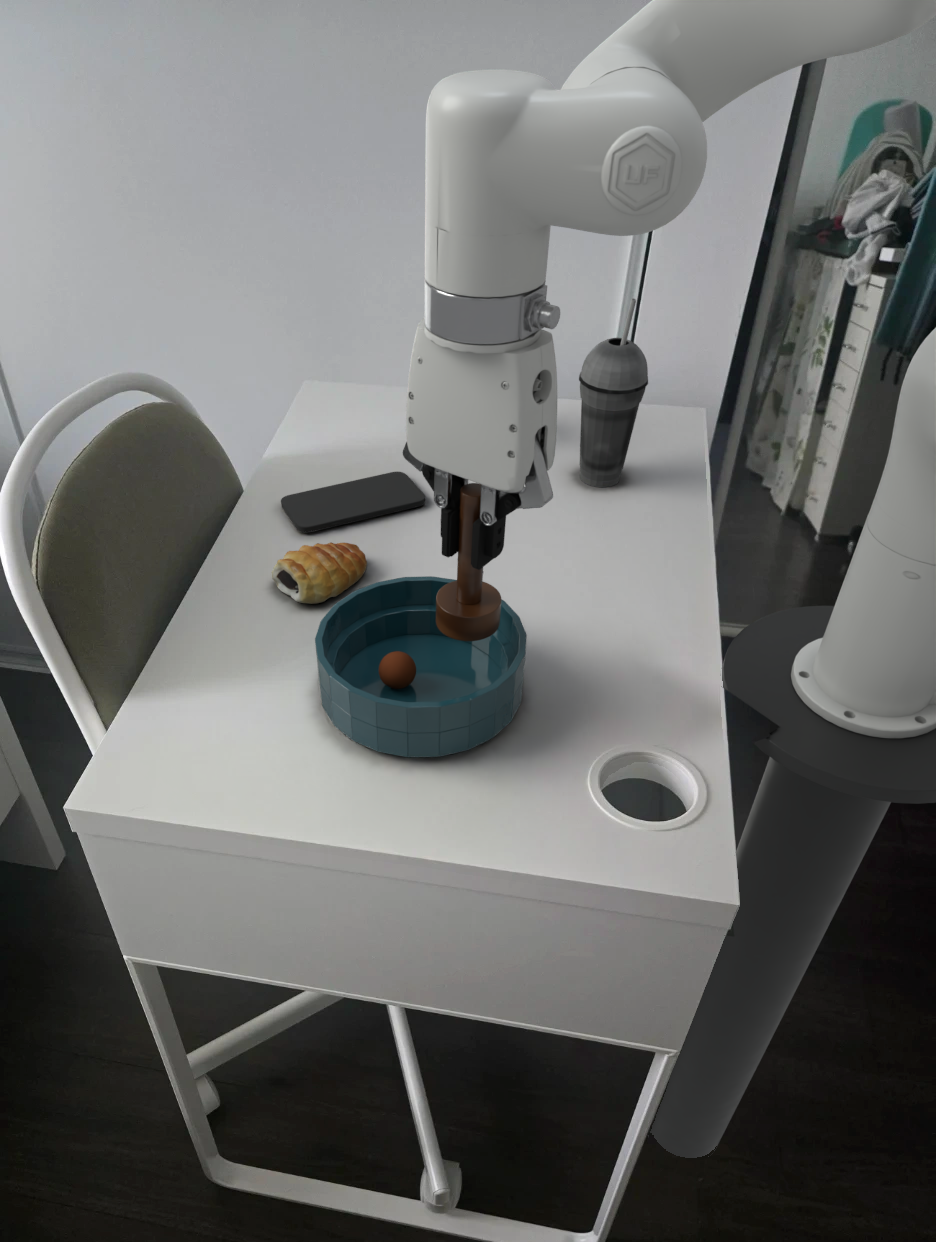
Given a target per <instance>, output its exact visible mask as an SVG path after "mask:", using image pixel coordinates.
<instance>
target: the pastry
mask: <svg viewBox="0 0 936 1242" xmlns="http://www.w3.org/2000/svg"><path fill="white" fill-rule="evenodd" d="M367 566H368V561H367V557H366V554H365V552H363V551H362V550H361V549H360V547H359V546H358V545H357V544H355V543H349V542H337V543H334V542H330V541H329V542H328V543H315V544H314V545H308V544H304V545H302V546H300V547H299V549H298V550H288V551H287V552H286V553H285V554H284V556H283V557H282V558H279V559H278V560H277V561H276V563H275V565H274V566H273V569H272V571H271V579H272V580H273V581H274V583H275V584H276V587H277V589H278V590H279V591H280V592H282V593H284V594H286V595H287V596H289V597H291V599H293V600H294V601H295V602H297V603H301V604H309V605H317V604H319V603H325V602H326V600H328V599H330V598H332V597H333V598H335V597H337V596H338V595H340V594H341V595H342V593H343V592H344V591H345V590H348V589H349V588H350V587H351V586H353V585H354V584H355V583H357V582H358V581H359V580H360V579H361V578H362V577H363V575H364V574H365V572H366V570H367Z"/></svg>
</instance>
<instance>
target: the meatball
mask: <svg viewBox="0 0 936 1242" xmlns="http://www.w3.org/2000/svg"><path fill="white" fill-rule="evenodd" d="M415 675H416V665H415V662H414V660H413V659H412V658H411V657H410V656H409V655H408V654H406V653H404V652H400V651H395V652H391V653H389V654H387V655H386V656H385V657H384V658H383V659H382V660H381V662H380V665H379V676H380V678H381V680H382V682H383V683H384V684H385V685H387V686H388V687H390V688H393V689H402V688H405V687H407V686H408V685H410V684H411V683H412V681H413V680H414V678H415Z"/></svg>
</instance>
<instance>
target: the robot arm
mask: <svg viewBox="0 0 936 1242" xmlns="http://www.w3.org/2000/svg"><path fill="white" fill-rule="evenodd" d="M935 17H936V0H651V1H649V2H648V3H647V4H646V5H645V6H643V7H642V8H641V9H639V11H637V12H636V13H635V14H633V16H631V17H630V18H629V19H628V20H627V21H626V22H624V23H623V24H622V25H621V26H620V27H618V28H617V29H616V30H615V31H614V32H613V33H611V34H610V35H609V36H608V37H607V38H606V39H604V40H603V41H602V42H601V43H600V44H599V45H598V46H596V47H595V48H594V49H593V50H592V51H591V52H590V53H588V55H586V57H584V58H583V60H581V61H580V62H579V64H578V65H577V66H576V67H575V68H574V69H573V70H572V71H571V73H570V74H569V76H568V77H567V78H566V80H565V82H564V83H563V84H562V86H561V88H560V89H557V88H556V86H555V85H554V84H553V83H552V81H551V80H550V79H548V78H546V77H545V76H542V75H541V74H537V73H534V72H532V71H531V72H530V71H526V70H515V69H502V68H499V69H498V68H497V69H496V68H490V69H488V68H487V69H475V70H466V71H459V72H456V73H455V72H454V73H452V74H450V75H448V76H446V77H443V78H441V79H440V80H439V81H438V82H437V83H436V84H435V85H434V86H433V88H432V89H431V91H430V93H429V96H428V100H427V104H426V109H425V110H426V111H425V159H424V162H425V168H424V169H425V175H424V176H425V177H424V180H425V181H424V185H425V186H424V277H423V278H424V283H423V284H424V285H423V287H424V288H423V289H424V290H423V293H424V294H423V306H424V307H423V318H422V319H421V320H420V321H418V324H417V327H416V331H415V335H414V339H413V345H412V350H411V354H410V355H411V356H410V361H409V370H408V379H407V391H406V406H405V407H406V408H405V434H406V442H405V445H404V446H403V449H402V457H403V458H404V459H405V460H406V461H407V462H408V463H409V464H410V465H411V466H413V467H414V468H415V469H416V470H417V471H419V472H421V474H422V476H423V478H424V480H425V481H426V482H427V484H428V486H429V487H430V488H431V490H432V491H433V501H434V504H435V505H436V506H437V508H440V537H441V555H442V556H443V557H445V558H450V557H451V558H452V557H454V556H455V555H456V554H458V540H459V514H460V489H461V487H462V486H464V485H465V484H469V481H470V482H472V483H478V484H481V502H480V518H479V519H477V520H476V521H475V522H474V523H473V529H472V549H471V565H472V567H473V568H475V569H478V570H480V569H481V568H483V569H484V567H485V566H486V565H488V564H489V563H491V562H492V561H493V560H494V559H496V558H497V557H499V556H500V555H501V554H502V552H503V551H504V547H505V536H506V535H505V534H506V523H507V516H508V515H510V514H512V513H513V512H514V511H516V510H517V509H522V510H527V509H528V510H529V509H540V508H543V507H544V506H545V505H547V504H548V503H550V502H551V500H553V499H554V492H553V488H552V484H551V480H550V476H549V473H548V471H549V470H550V469H552V467H553V465H554V461H555V456H556V445H557V431H558V430H557V428H558V372H557V360H556V359H557V358H556V352H555V343H554V338H553V334H552V332H551V331H547V330H545V329H549V330H554V329H556V327H557V326H558V324H559V321H560V319H561V308H560V307H559V306H558V305H553V304H551V303H550V302H549V300H547V294H548V285H547V284H546V279H547V271H548V259H549V247H550V237H551V227H559V228H565V229H571V230H576V231H583V232H586V233H587V232H588V233H592V234H599V235H606V236H614V237H615V236H617V237H628V236H629V237H631V236H638V235H644V234H647V233H650V232H653V231H656V230H658V229H660V228H663V227H664V226H666V225H667V224H669V223H670V222H672V221H673V220H675V219H676V218H677V217H678V216H679V215H680V214H682V213H683V212H684V211H685V209H687V207H688V206H689V205H690V204H691V202H692V200H693V199H694V198H695V196H696V194H697V192H698V190H699V189H700V187H701V185H702V181H703V179H704V176H705V172H706V168H707V167H706V166H707V161H708V140H707V134H706V130H705V125H704V122H706V120H708V119H709V118H711V117H712V116H713V115H714V114H716V113H717V112H719V111H721V109H723V108H725V107H726V106H728V105H729V103H731V102H733V101H735V100H736V99H737V98H739V97H741V96H742V95H744V94H746V93H747V92H748V91H750V90H752V89H754V88H755V87H757V86H760V85H761V84H763V83H765V82H767V81H768V80H771V79H773V78H774V77H775V78H776V76H778V75H781V74H783V73H786V72H788V71H790V70H793V69H795V68H798V67H800V66H803V65H806V64H810V63H814V62H816V61H817V62H818V61H820V60H825V59H829V58H834V57H840V56H845V55H850V54H855V53H858V52H862V51H866V50H868V49H872V48H875V47H877V46H881V45H883V44H885V43H889V42H891V41H894V40H896V39H898V38H899V39H900V38H901V37H903V36H906V35H908V34H910V33H912V32H914V31H916V30H918V29H919V28H921V27H922V26H923V25H925V24H926V23H928V22H930V21H931V20H932V19H934V18H935ZM544 328H545V329H544ZM904 375H905V376H904V378H903V381H902V383H901V388H900V392H899V397H898V401H897V406H896V411H895V418H894V422H893V429H892V434H891V438H890V439H891V440H890V444H889V448H888V453H887V458H886V461H885V464H884V468H883V471H882V474H881V477H880V481H879V484H878V487H877V490H876V493H875V494H874V495H875V496H874V498H873V500H872V504H871V506H870V509H869V512H868V514H867V517H866V519H865V522H864V523H863V524H864V525H863V528H862V530H861V532H860V536H859V538H858V540H857V544H856V547H855V549H854V552H853V555H852V557H851V560H850V562H849V566H848V568H847V571H846V574H845V576H844V579H843V582H842V585H841V587H840V590H839V593H838V596H837V599H836V600H835V604H834V605H833V606H834V609H833V612H832V614H831V617H830V620H829V623H828V625H827V628H826V631H825V634H824V636H823V638H820V639H817V640H815V641H813V642H810V643H808V644H807V645H806V646H804V647H803V648H802V649H801V650H800V651H799V653H798V654H797V655H796V657H795V660H794V663H793V666H792V671H791V679H792V684H793V686H794V688H795V690H796V693H797V694H798V695H799V697H800V698H801V699H802V701H803V702H804V703H805V704H806V705H807V706H808V707H809V708H811V709H812V710H813V711H814V712H815V713H817V714H818V715H820V716H821V717H823V718H824V719H825V720H827V721H829V722H831V723H833V724H835V725H837V726H839V727H842V728H844V729H847V730H850V731H852V732H855V733H859V734H863V735H867V736H872V737H880V738H908V737H915V736H919V735H922V734H925V733H928V732H930V731H931V730H933V729H935V728H936V327H934V329H933V330H931V331H930V333H929V334H928V335H927V336H926V337H925V338H924V339H923V340H922V342H921V343H920V345H919V346H918V348H917V350H916V352H915V353H914V355H913V356H912V358H911V361H910V363H909V365H908V367H907V369H906V372H905V374H904Z"/></svg>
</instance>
